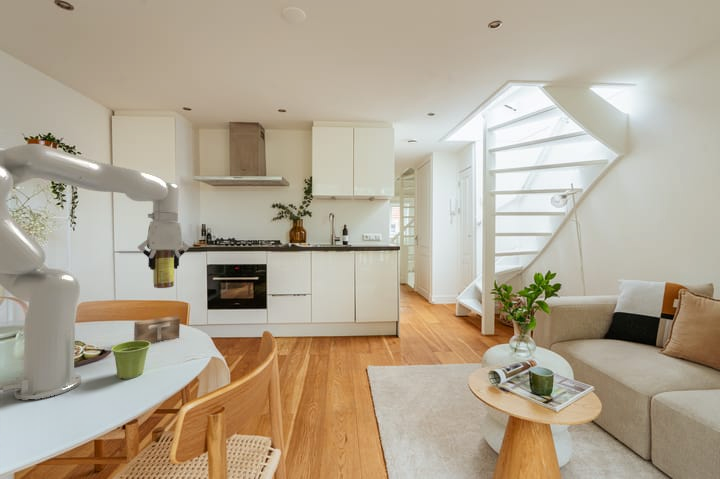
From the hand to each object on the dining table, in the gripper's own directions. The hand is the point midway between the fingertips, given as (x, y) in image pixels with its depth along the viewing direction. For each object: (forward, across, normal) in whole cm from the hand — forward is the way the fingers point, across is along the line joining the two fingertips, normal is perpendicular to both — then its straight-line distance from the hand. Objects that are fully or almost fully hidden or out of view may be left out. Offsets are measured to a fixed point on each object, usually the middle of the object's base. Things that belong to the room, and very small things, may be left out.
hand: (163, 268), depth 110 cm
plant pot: (+30, -11, -14) cm, 35 cm away
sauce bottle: (+7, 0, 0) cm, 7 cm away
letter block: (+30, +2, +14) cm, 33 cm away
